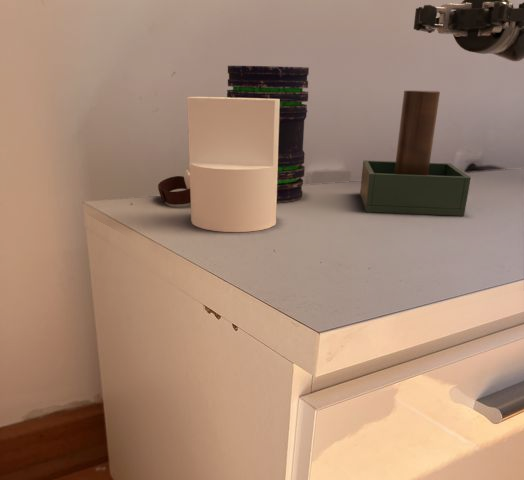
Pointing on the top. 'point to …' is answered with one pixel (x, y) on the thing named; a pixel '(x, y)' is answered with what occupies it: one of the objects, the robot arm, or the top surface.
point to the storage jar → (290, 116)
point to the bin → (414, 190)
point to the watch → (174, 184)
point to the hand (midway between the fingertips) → (459, 13)
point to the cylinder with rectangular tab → (233, 162)
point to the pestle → (416, 132)
